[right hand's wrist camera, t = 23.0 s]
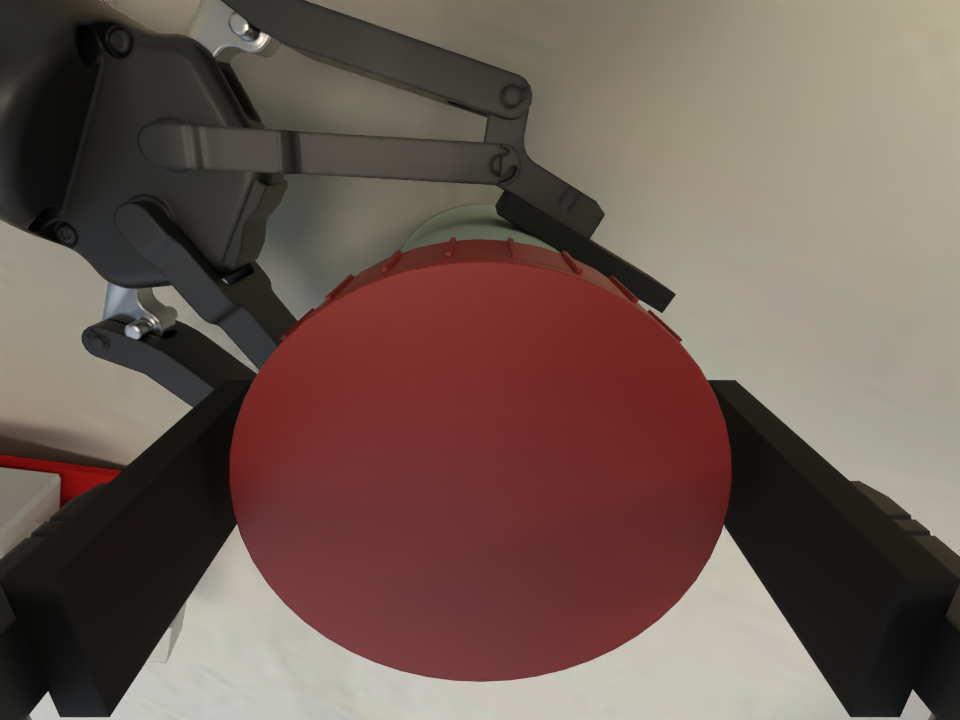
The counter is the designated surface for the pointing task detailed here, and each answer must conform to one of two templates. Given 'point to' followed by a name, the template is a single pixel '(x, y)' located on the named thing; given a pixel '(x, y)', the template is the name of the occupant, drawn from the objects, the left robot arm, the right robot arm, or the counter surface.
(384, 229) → the counter surface
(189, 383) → the left robot arm
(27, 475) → the toy
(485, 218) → the jar
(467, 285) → the lid
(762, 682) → the counter surface
